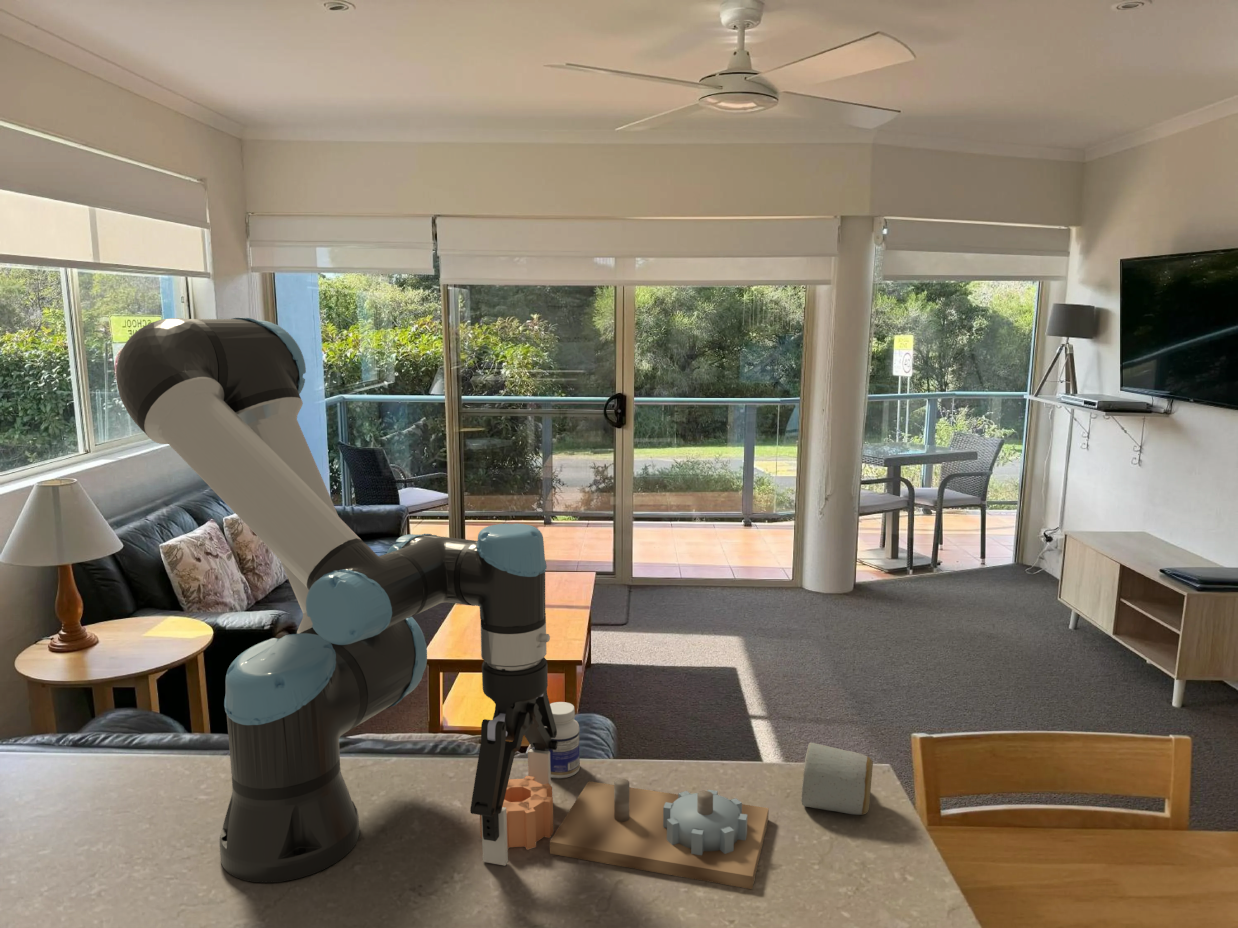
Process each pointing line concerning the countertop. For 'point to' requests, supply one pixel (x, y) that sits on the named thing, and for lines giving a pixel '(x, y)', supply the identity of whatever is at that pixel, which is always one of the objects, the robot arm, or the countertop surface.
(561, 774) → the pill bottle
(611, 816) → the walnut board
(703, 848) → the slate gear
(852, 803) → the ceramic mug
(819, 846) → the countertop surface
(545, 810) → the terracotta gear
